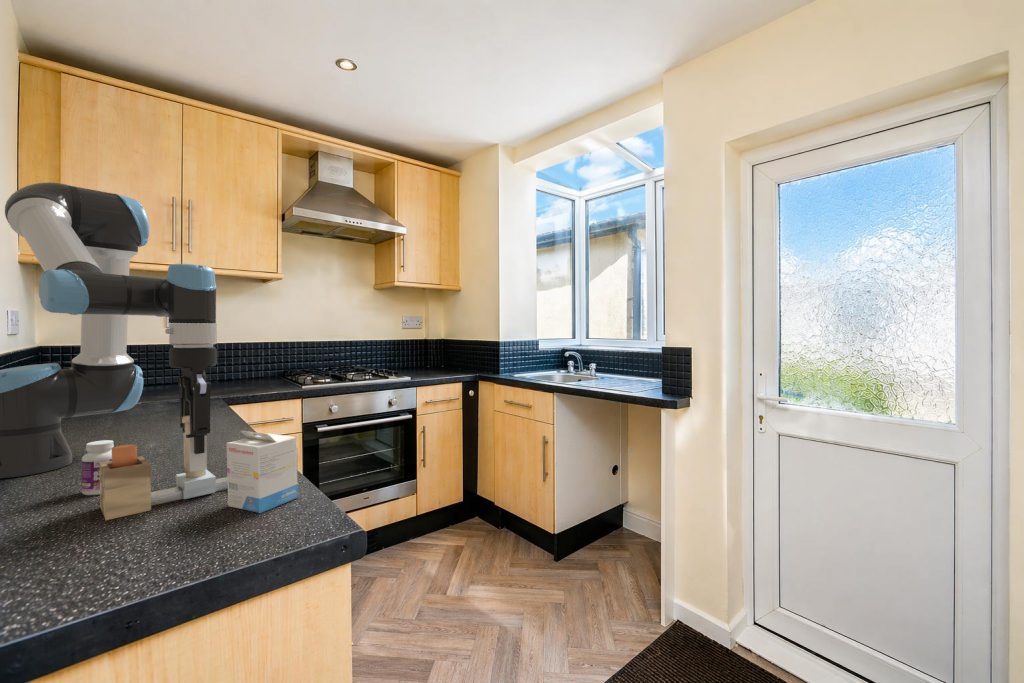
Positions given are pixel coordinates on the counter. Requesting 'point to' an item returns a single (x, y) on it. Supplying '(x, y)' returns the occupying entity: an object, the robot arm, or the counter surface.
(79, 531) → the counter surface
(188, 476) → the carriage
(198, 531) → the counter surface
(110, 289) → the robot arm
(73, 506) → the counter surface
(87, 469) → the pill bottle
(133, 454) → the orange rounded piece
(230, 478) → the ink box
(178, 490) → the rail
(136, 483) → the wooden box
